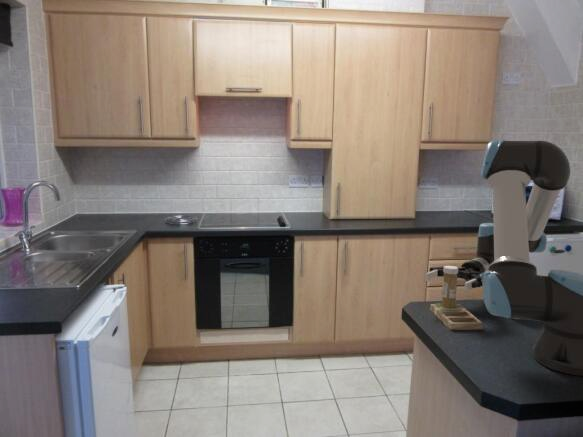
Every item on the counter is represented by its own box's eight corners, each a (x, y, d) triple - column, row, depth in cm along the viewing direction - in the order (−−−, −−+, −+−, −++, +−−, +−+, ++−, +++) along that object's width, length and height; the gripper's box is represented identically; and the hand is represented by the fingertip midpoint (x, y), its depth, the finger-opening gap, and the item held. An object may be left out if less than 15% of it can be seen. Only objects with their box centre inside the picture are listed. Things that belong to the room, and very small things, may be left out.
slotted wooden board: (482, 329, 133) (483, 322, 133) (450, 329, 133) (450, 322, 132) (459, 309, 150) (459, 303, 149) (430, 309, 149) (430, 303, 149)
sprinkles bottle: (455, 309, 144) (458, 269, 141) (441, 307, 145) (443, 268, 143) (455, 304, 148) (458, 265, 146) (441, 302, 149) (443, 264, 147)
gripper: (510, 288, 149) (482, 303, 134) (441, 272, 167) (411, 284, 152) (512, 267, 147) (484, 279, 133) (443, 253, 165) (412, 263, 151)
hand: (445, 282), depth 143 cm, fingers open, 13 cm apart
